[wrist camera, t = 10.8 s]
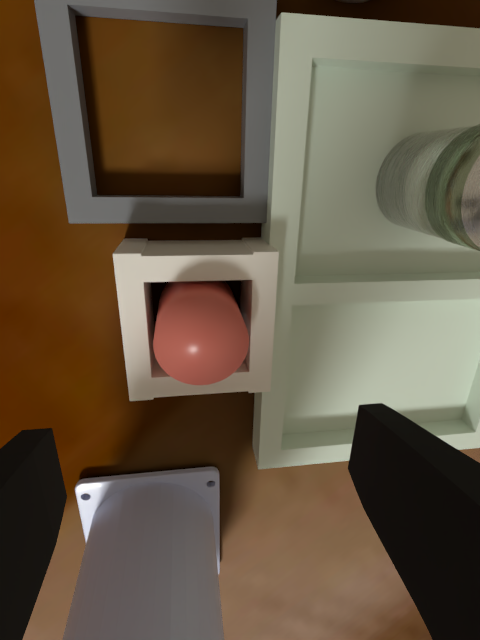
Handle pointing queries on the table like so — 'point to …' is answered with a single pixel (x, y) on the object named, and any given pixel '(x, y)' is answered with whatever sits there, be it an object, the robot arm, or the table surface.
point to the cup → (353, 1)
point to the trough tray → (364, 240)
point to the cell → (434, 184)
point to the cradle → (72, 121)
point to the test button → (199, 332)
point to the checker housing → (195, 265)
